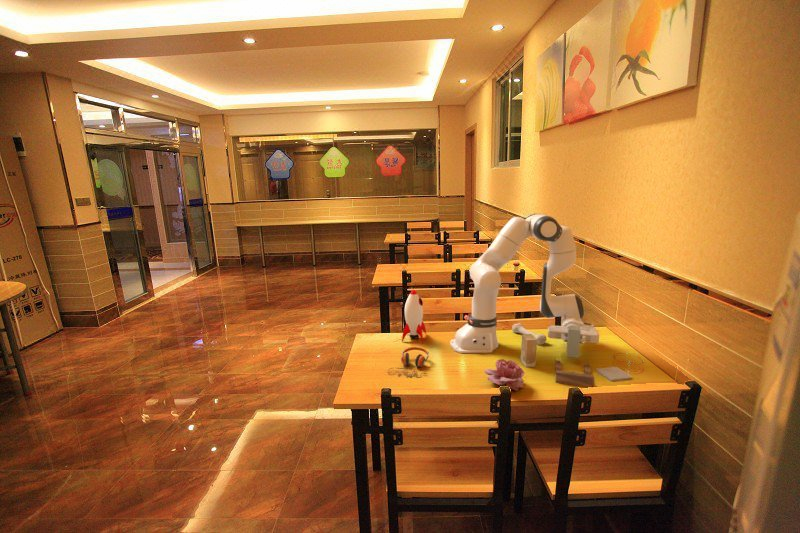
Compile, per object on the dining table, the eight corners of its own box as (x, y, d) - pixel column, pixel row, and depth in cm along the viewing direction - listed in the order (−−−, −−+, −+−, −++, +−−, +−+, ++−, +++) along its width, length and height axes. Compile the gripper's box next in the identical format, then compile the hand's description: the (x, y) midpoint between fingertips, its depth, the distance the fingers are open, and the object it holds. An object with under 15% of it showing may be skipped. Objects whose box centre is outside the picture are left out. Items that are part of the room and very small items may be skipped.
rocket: (423, 343, 194) (422, 293, 189) (401, 342, 196) (400, 292, 191) (426, 334, 205) (426, 287, 199) (405, 333, 207) (404, 286, 201)
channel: (555, 362, 171) (555, 353, 170) (589, 366, 167) (589, 357, 166) (555, 382, 155) (556, 372, 154) (593, 387, 150) (593, 377, 149)
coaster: (610, 381, 154) (610, 379, 154) (595, 370, 163) (595, 368, 163) (631, 378, 156) (632, 377, 156) (615, 368, 164) (616, 366, 164)
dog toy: (548, 344, 190) (548, 334, 188) (538, 347, 187) (538, 336, 186) (519, 330, 208) (520, 321, 207) (510, 332, 205) (510, 323, 204)
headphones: (385, 369, 162) (399, 340, 180) (386, 380, 165) (400, 350, 182) (425, 375, 158) (436, 344, 175) (426, 385, 160) (436, 354, 177)
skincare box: (520, 360, 173) (521, 334, 171) (529, 360, 174) (531, 333, 171) (525, 367, 167) (527, 339, 164) (536, 367, 167) (537, 339, 165)
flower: (489, 390, 145) (497, 363, 144) (479, 375, 159) (486, 351, 159) (528, 399, 146) (536, 373, 145) (515, 384, 160) (522, 360, 160)
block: (566, 352, 173) (568, 325, 170) (578, 353, 171) (579, 326, 168) (566, 356, 168) (568, 329, 166) (578, 357, 167) (580, 330, 164)
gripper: (547, 320, 183) (547, 331, 170) (597, 324, 176) (601, 336, 163) (547, 333, 184) (546, 345, 172) (596, 338, 177) (599, 351, 165)
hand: (573, 341), depth 167 cm, fingers closed on block, 4 cm apart
